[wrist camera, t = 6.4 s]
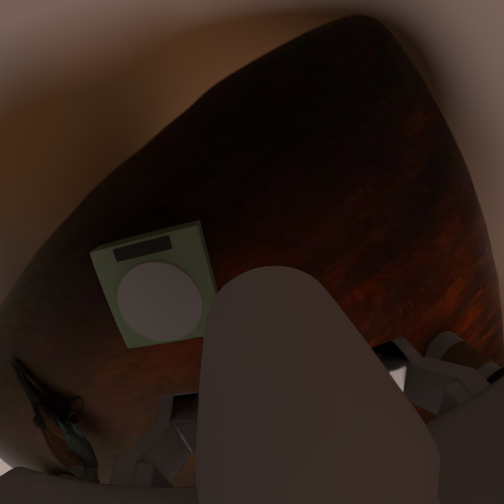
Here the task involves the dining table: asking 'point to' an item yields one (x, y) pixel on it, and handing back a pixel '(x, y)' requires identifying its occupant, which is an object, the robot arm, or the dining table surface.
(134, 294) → the scale
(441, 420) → the robot arm
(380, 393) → the can
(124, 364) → the dining table surface
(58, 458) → the bird figurine
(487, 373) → the coffee cup
